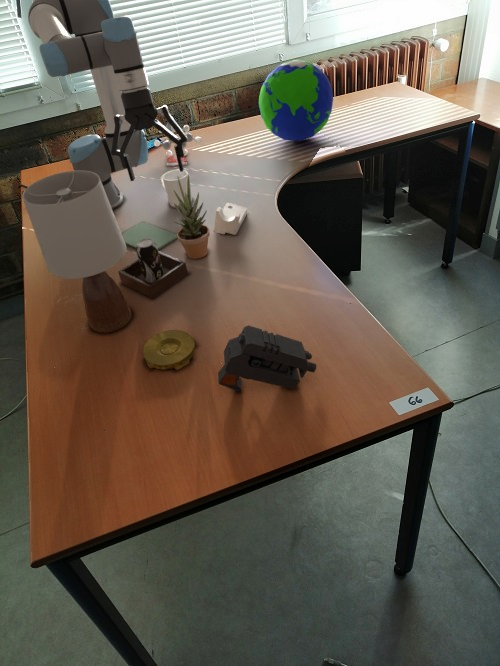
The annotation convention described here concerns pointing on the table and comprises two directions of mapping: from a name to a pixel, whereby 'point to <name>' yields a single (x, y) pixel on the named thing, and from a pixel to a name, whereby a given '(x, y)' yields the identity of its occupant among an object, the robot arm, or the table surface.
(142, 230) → the mat
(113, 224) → the lamp
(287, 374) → the tool
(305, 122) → the globe
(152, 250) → the beverage can
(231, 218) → the bracket
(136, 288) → the holder
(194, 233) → the potted plant
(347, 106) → the table surface
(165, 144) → the molecule model
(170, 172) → the mug
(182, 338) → the yellow flat disc
